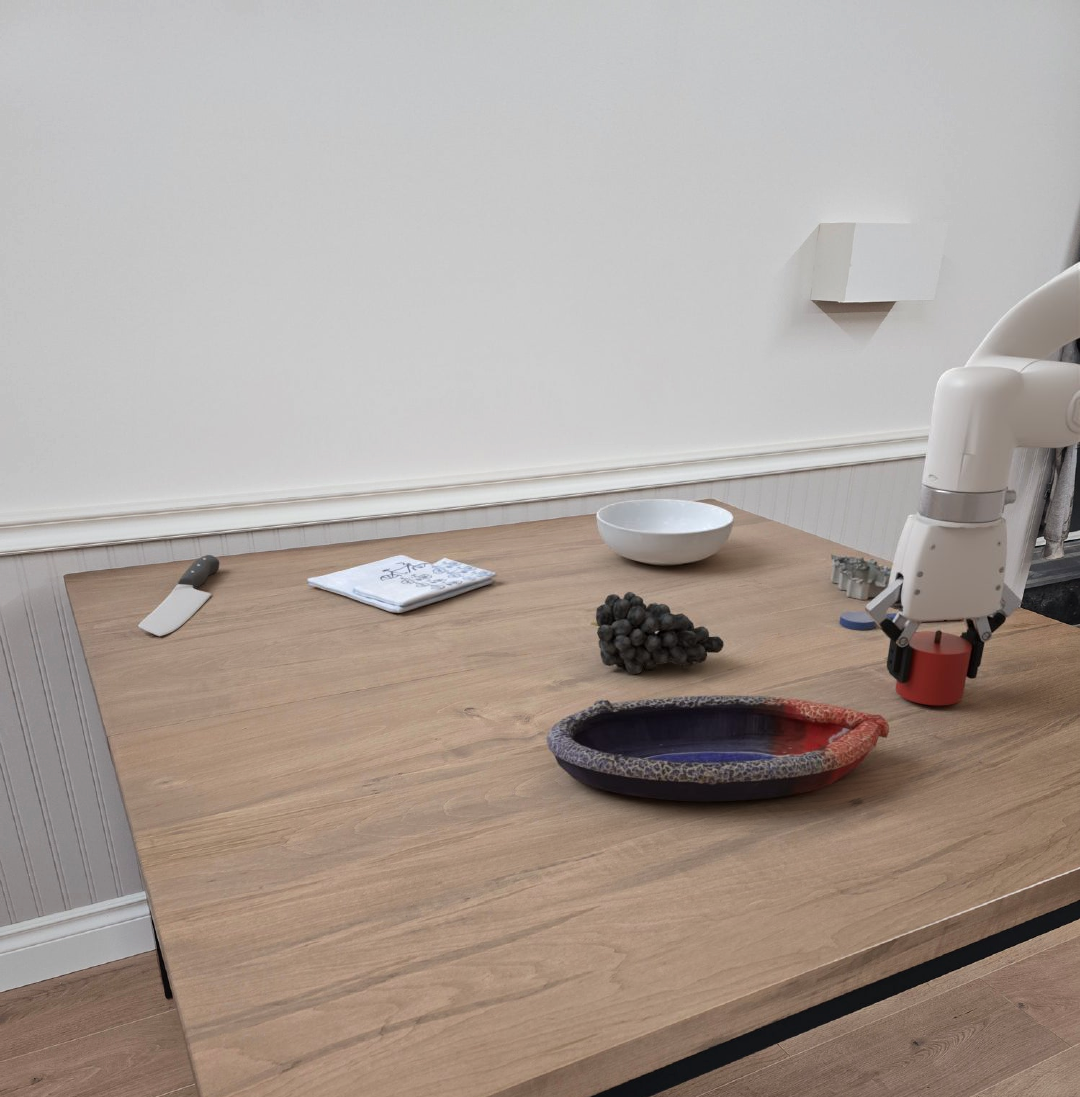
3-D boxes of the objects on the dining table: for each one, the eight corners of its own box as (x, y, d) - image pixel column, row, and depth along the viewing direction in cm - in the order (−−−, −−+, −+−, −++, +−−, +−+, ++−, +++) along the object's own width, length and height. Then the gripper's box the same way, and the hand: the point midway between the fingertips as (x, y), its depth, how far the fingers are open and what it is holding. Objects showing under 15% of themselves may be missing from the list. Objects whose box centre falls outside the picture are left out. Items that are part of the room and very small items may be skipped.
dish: (542, 737, 93) (542, 689, 91) (856, 730, 94) (863, 683, 92) (550, 820, 79) (550, 767, 77) (918, 811, 80) (929, 758, 78)
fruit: (727, 583, 108) (592, 579, 108) (734, 630, 102) (591, 625, 102) (717, 643, 114) (589, 639, 114) (723, 691, 108) (588, 686, 108)
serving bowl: (576, 569, 145) (576, 523, 142) (619, 535, 162) (621, 494, 159) (713, 583, 138) (716, 536, 135) (743, 547, 155) (746, 504, 152)
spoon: (954, 613, 125) (956, 605, 125) (972, 625, 122) (974, 616, 121) (834, 619, 124) (835, 610, 123) (847, 630, 120) (849, 621, 119)
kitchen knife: (175, 630, 119) (133, 620, 118) (172, 649, 120) (131, 639, 119) (235, 559, 145) (201, 550, 144) (233, 575, 146) (199, 566, 145)
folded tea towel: (400, 617, 125) (398, 601, 125) (304, 587, 137) (303, 572, 137) (499, 583, 139) (499, 569, 138) (404, 558, 150) (403, 545, 150)
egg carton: (901, 601, 131) (906, 571, 129) (845, 601, 131) (849, 571, 129) (877, 577, 140) (881, 549, 138) (825, 577, 140) (829, 549, 138)
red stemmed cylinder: (943, 678, 104) (954, 617, 101) (974, 703, 98) (987, 639, 95) (884, 681, 104) (893, 621, 101) (913, 707, 98) (923, 643, 95)
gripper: (1024, 491, 97) (991, 657, 104) (857, 499, 95) (836, 667, 103) (1069, 509, 90) (1030, 684, 98) (890, 517, 88) (866, 696, 96)
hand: (931, 674), depth 100 cm, fingers closed on red stemmed cylinder, 6 cm apart
